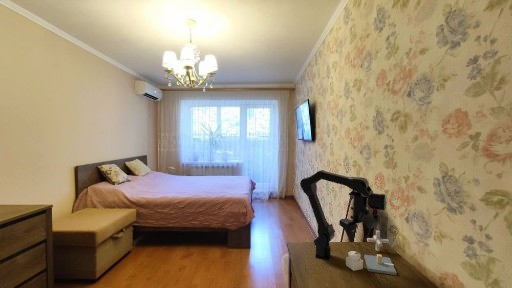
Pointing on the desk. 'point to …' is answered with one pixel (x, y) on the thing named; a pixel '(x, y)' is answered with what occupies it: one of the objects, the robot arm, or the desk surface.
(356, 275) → the desk surface
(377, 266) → the panel
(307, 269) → the desk surface
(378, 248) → the pipe connector
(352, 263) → the knob
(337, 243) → the desk surface
